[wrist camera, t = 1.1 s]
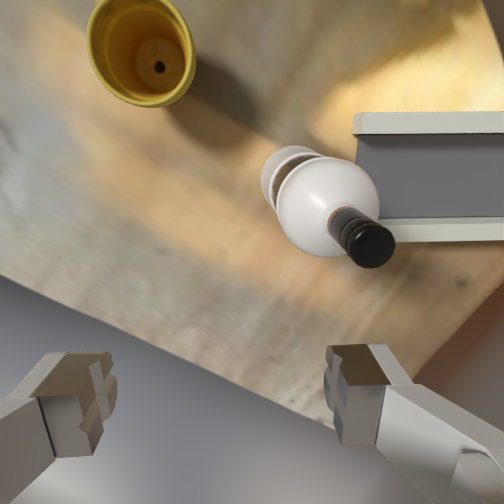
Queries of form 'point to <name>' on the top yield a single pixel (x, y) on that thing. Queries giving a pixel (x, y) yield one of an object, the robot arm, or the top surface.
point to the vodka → (326, 206)
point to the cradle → (435, 173)
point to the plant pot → (141, 50)
